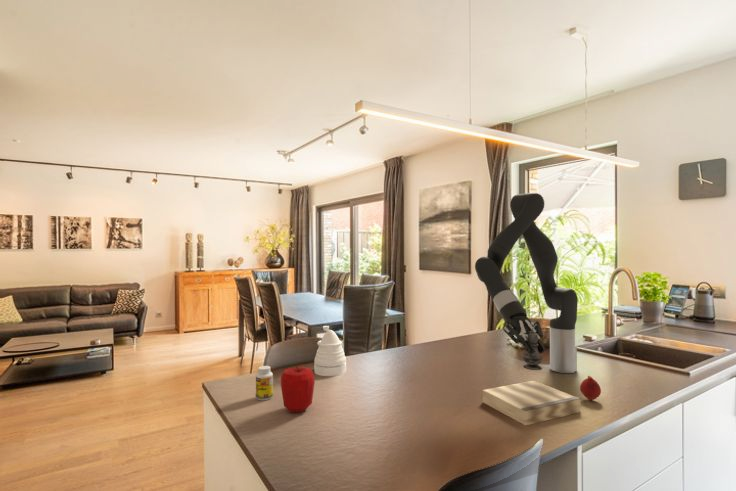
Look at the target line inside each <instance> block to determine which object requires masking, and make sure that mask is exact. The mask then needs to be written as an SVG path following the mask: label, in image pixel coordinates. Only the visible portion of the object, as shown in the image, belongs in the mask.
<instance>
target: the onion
mask: <svg viewBox="0 0 736 491" xmlns="http://www.w3.org/2000/svg"><path fill="white" fill-rule="evenodd" d="M579 386H580V387H579V390H580V393H581V394H582V395H583V396H584V397H585V398H586V399H587V400H588V401H593V400H596V399H598V397H600V396H601V393H602V390H601V387H600V384H599V383H598V382H597V380H595V379H594V378H593V377H592V376H591V375H587V378H585V379H584V380H583V381H582V382H581V384H580V385H579Z"/></svg>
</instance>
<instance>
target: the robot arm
mask: <svg viewBox="0 0 736 491" xmlns="http://www.w3.org/2000/svg"><path fill="white" fill-rule="evenodd" d="M509 204H510V205H509V206H510V211H511V214H512V215H513V218H514V220H513V221H512V222H510V224H508V225H507V226H506V227H505V228H503V229H502V230H501V231H500V232H499V233H498V234H497V235H496V236H495V238H494V239H493V241H492V243H490V245H489V247H488V248H487V256H481V257H479V258H478V259H477V260H476V261H475V263H474V269H475V270H474V271H475V272H476V275H477V276H476V277H478V280H479V281H480V282H482V283H483V284H484V285H485V288H486V290H487V291H486V292H487V293H488V295H489V296H490V298H491V299H492V301H493V303H494V306H495V308H496V309H497V311H498V313H499V315H500V316H501V318H502V320H503V321H504V323H505V324H506V325H505V326H504V327H503V329H502V330H503V332H504V333H505V334H506V335H507V336H508V337H509V338H510V339H511V340H512V341H513V342H514V343H515V344H520V345H522V347H523V348H524V349H525V351H526V353H527V352H528V353H529V354H530V355H532V354H533V353H534V352H535V350H534V348H533V346H532V345H531V343H530V342H529V341H528V333H529V332H531V331H532V329H533V330H534V331H533V332H535V333H537V335H538V344H539V345H538V354H543V353H544V352H545V351H546V347H545V345H544V343H543V342H542V341H541V339H542V338H543V337H544V333H543V331H542V327H541V324H540V322H539V321H535V322H534V321H531V319H529V318H528V314H527V311H526V309H525V308H524V306H523V305H522V303H521V302H520V300H519V298H518V297H517V296H516V294H515V293H514V292H513V291H512V289H511V288H510V286H509V284H508V283H507V282H506V281H505V279H504V278H503V276H502V273H501V270H502V268H503V265H504V262H505V260H506V258H507V257H508V255H509V254H510V253H511V250H512V249H513V247H514V246H515V244H516V243H517V242H518V241H519V239H520V238H521V237H522V238H523V239H524V242H525V244H526V247H527V250H528V253H529V255H530V258H531V261H532V263H533V266H534V268H535V270H536V271H535V272H536V274H537V277H538V280H539V284H540V287H541V291H542V295H543V299H544V302H545V304H546V306H547V307H548V308H549V309H550V310H555V311H560V314H559V316H557V317H555V318H551V319H550V320H549V369H550V370H551V371H553V372H557V373H560V374H574V373H576V371H577V370H578V356H577V355H578V348H577V346H576V323H577V319H578V304H579V302H578V295H577V292H576V291H575V290H574V289H572V288H568V287H558V286H557V283H556V280H555V276H554V275H555V270H556V268H557V266H558V261H559V260H558V255H557V251H556V249H555V245H554V243H553V242H552V240H551V239H550V238H549V237H548V236H547V235H546V234H545V233H544V231H542V230H541V228H539V226H537V224H536V222H535V221H536V220H537V219H538V218H539V217H540V216H541V213H543V211H544V208H545V200H544V197H543V196H542V195H541V194H540V193H538V192H527V193H519V194H516V195H514V196H512V197H511V199H510V203H509Z"/></svg>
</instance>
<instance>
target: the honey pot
mask: <svg viewBox="0 0 736 491" xmlns="http://www.w3.org/2000/svg"><path fill="white" fill-rule="evenodd" d="M322 330H323V331H324V332H325V333H324V334H323V336H322V338H321V339H320V340H318V341H317V346H318V349H316V354H315V357H314V362H313V363H314V372H313V373H314V374H316V375H317V376H323V377H336V376H341V375H344V374H345V373H346V372H347V357H346V355H345V351H344V349H343V346H342V343H343V342H342V340H341V339H340V338H339V337H338V334H336V332H335V330H332V329H330V325H323V326H322Z"/></svg>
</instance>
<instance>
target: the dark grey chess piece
mask: <svg viewBox="0 0 736 491" xmlns="http://www.w3.org/2000/svg"><path fill="white" fill-rule="evenodd" d="M533 331H534V330H533V329H532V331H530V332H529V333H528V337H527V339H528V340H527V341H529V342H530V343H531V345H532V346H533V348H534V350H535V352H534V353H533V354H532V355H530V354H529V353H528V352H527V351H526V353H523V354H522V355H521V356H522V357H523V360H524V362H525V363H526V364H524V365H523V366H522V367H523V368H524V369H526V370H530V371H541V370H542V369H543V367H542V366H540V364H541V363H542V360H543V358H544V356H542V355H541V354H540V353H539V351H538V345H539V344H538V335H537V333H535V332H533Z"/></svg>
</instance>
